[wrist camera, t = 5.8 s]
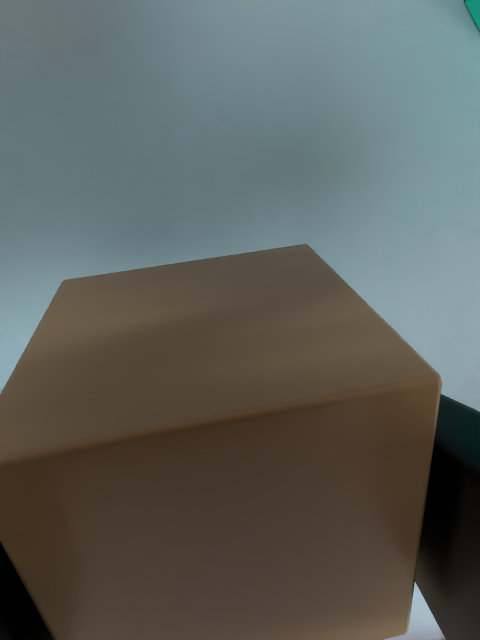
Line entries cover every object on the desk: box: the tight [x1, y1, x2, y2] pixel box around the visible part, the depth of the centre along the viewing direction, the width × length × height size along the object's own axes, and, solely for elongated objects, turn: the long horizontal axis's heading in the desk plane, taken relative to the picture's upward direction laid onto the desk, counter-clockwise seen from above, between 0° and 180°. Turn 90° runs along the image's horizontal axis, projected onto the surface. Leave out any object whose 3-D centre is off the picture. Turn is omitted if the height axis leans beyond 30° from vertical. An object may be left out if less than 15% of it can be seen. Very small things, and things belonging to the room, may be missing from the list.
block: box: [0, 244, 442, 640], centre depth 8 cm, size 5×5×5 cm
